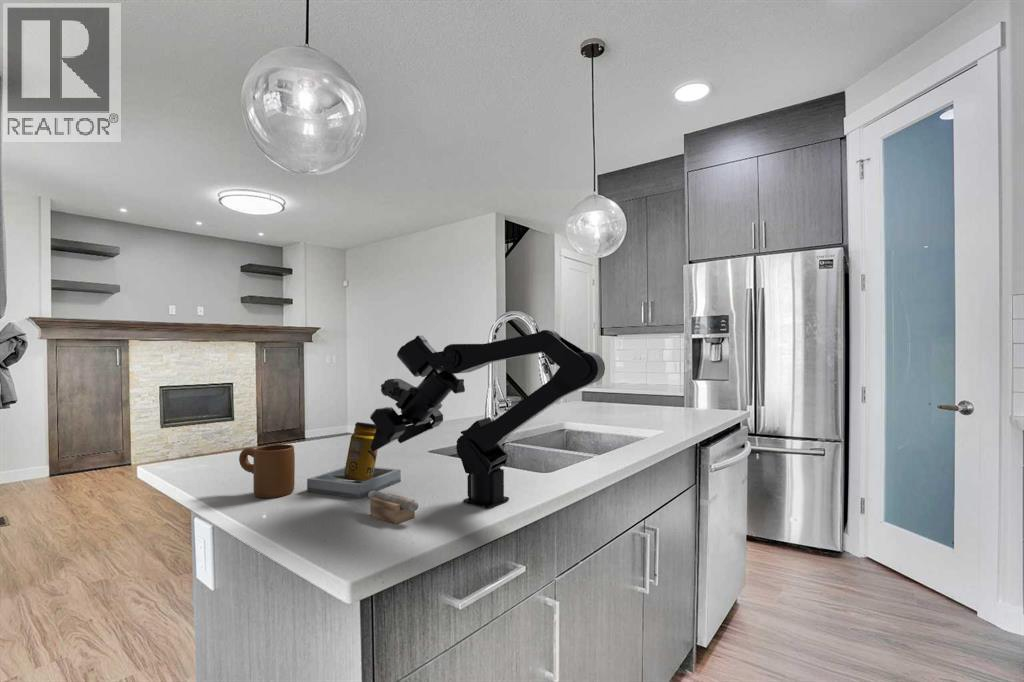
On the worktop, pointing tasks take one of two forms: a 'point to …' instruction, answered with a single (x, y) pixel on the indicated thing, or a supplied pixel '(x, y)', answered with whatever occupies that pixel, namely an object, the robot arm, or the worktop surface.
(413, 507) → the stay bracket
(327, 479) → the grey shallow square tray
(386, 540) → the worktop surface
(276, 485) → the mug
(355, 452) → the condiment
